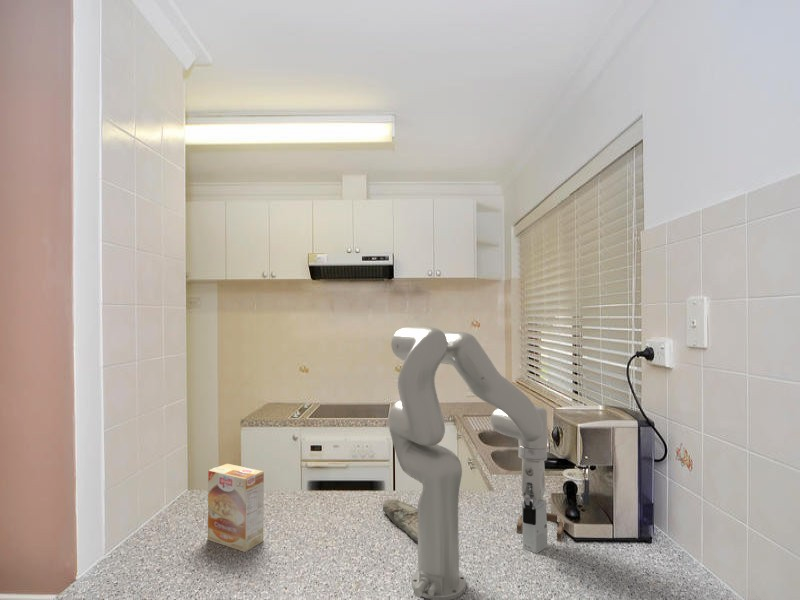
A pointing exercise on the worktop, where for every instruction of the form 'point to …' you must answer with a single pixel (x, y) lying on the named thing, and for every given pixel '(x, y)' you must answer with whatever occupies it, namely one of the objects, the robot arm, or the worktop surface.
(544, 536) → the skincare box
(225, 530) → the coffeecake box
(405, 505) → the long grey stone
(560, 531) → the lane rack
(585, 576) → the worktop surface
